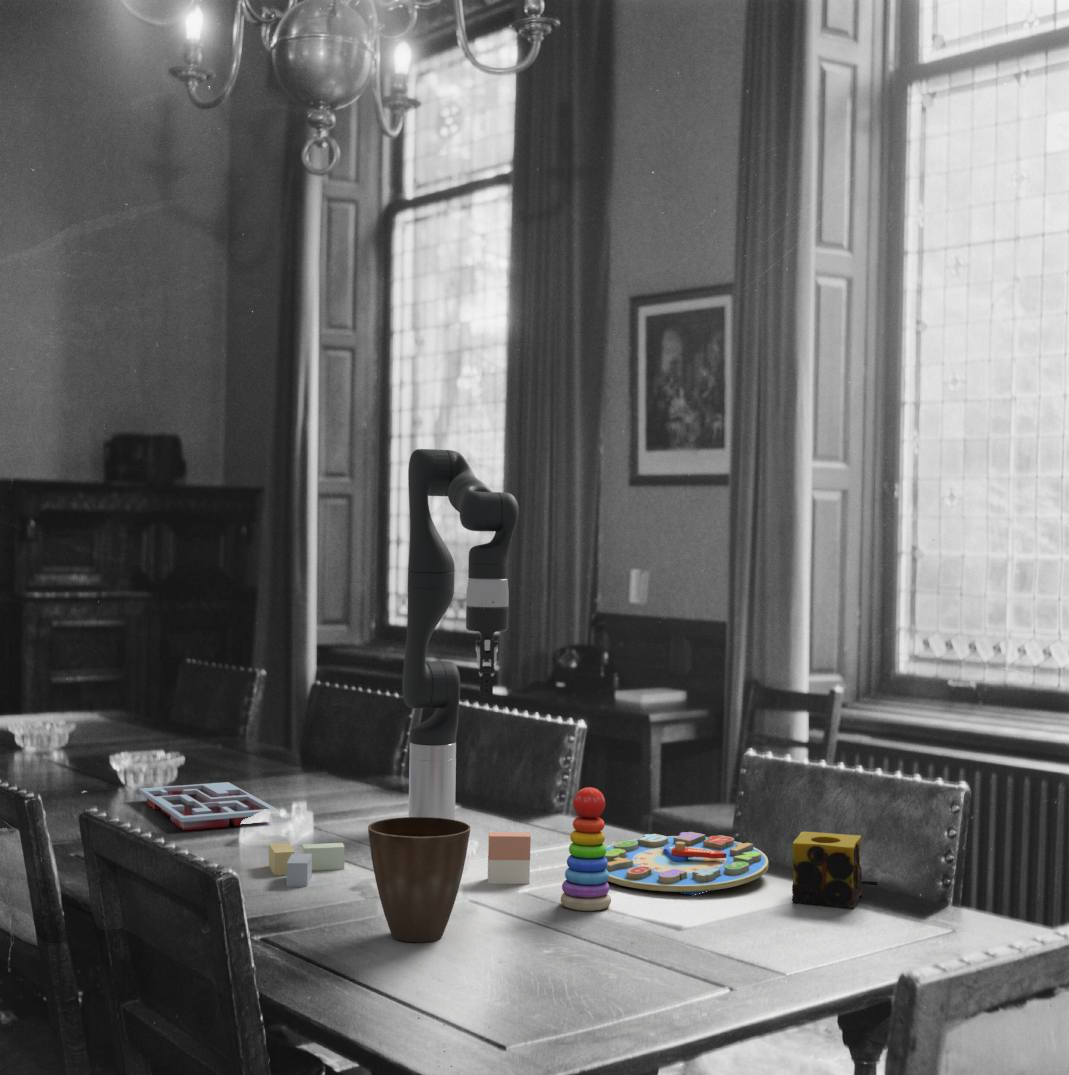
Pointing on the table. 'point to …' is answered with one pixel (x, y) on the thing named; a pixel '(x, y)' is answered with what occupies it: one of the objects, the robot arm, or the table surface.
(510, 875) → the brick cream
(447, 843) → the plant pot
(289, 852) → the brick ochre
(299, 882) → the brick slate
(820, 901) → the yellow gear box toy
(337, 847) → the brick sage
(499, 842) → the brick terracotta
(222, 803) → the maze game
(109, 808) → the table surface
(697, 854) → the shape sorting clock
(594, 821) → the stacking toy
